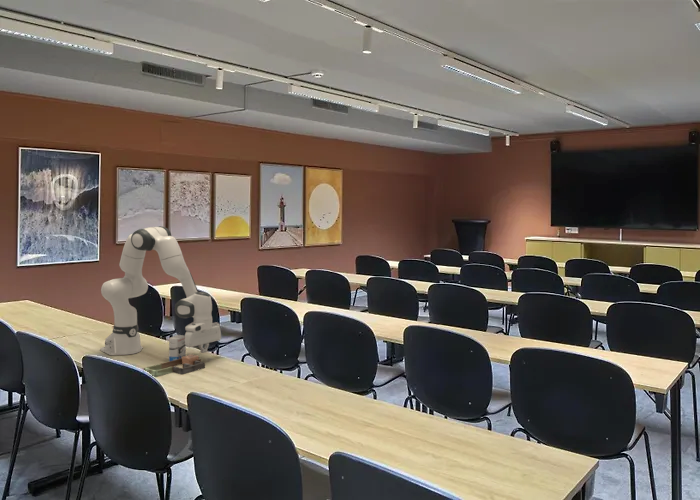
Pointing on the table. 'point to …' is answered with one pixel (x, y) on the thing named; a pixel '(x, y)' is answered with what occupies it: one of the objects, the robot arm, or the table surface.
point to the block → (189, 359)
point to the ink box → (177, 347)
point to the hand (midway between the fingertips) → (203, 352)
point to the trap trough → (174, 367)
